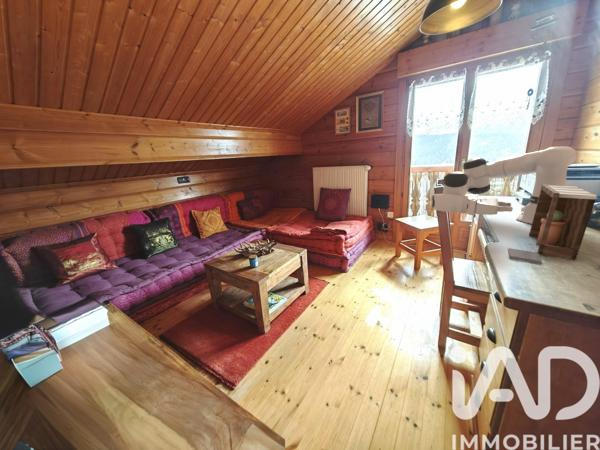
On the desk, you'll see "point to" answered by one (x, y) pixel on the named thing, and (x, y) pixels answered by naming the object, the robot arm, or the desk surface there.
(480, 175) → the robot arm
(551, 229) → the terracotta pot
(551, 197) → the slatted wooden crate
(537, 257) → the slate tile
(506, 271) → the desk surface
